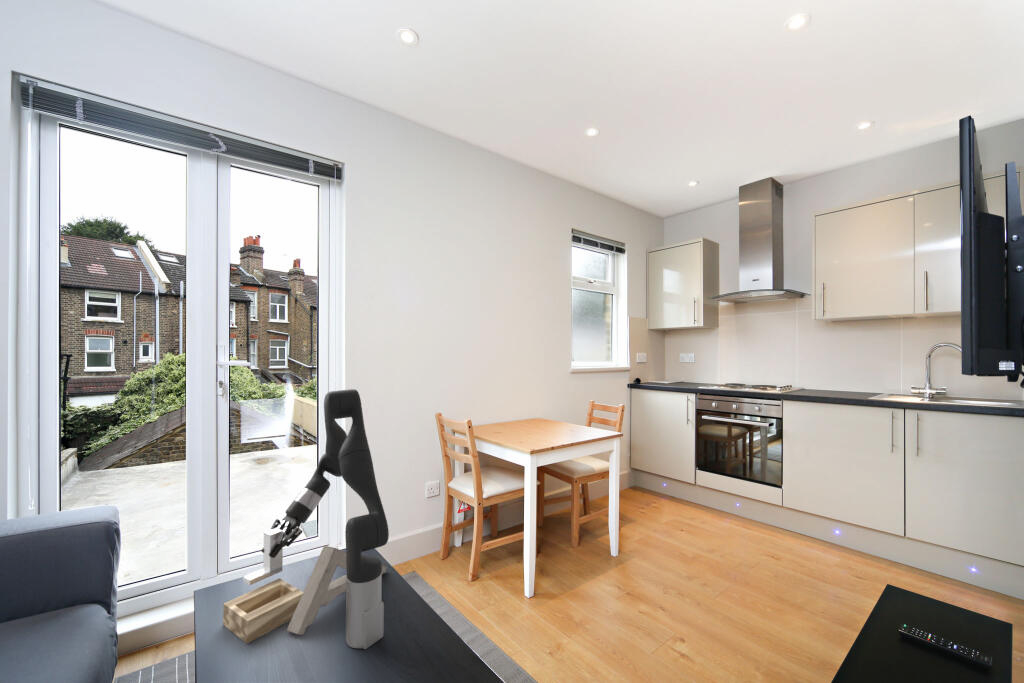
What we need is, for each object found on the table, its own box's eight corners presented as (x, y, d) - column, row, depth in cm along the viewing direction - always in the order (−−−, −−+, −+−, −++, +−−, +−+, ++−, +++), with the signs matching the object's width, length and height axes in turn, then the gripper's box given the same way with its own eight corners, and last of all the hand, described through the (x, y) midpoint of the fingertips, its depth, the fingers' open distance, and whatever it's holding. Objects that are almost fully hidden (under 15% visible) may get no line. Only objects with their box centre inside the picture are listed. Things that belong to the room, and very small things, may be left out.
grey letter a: (360, 641, 138) (297, 634, 116) (350, 637, 139) (286, 630, 117) (387, 567, 150) (334, 548, 128) (377, 564, 152) (324, 545, 129)
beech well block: (303, 612, 127) (304, 592, 127) (247, 643, 113) (247, 621, 113) (279, 597, 134) (279, 578, 135) (223, 624, 121) (223, 603, 121)
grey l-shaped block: (282, 570, 137) (282, 530, 137) (249, 585, 129) (250, 542, 129) (275, 567, 139) (276, 527, 140) (243, 581, 131) (243, 539, 131)
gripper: (285, 496, 147) (247, 544, 137) (308, 503, 140) (270, 555, 129) (299, 506, 152) (264, 554, 141) (323, 514, 144) (287, 565, 133)
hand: (267, 554), depth 135 cm, fingers closed on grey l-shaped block, 4 cm apart
